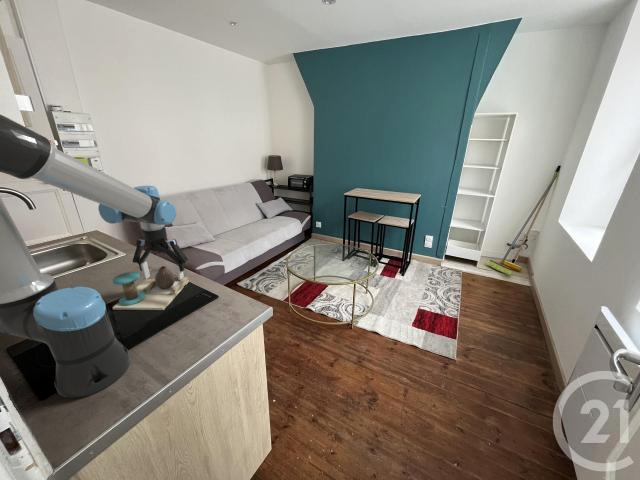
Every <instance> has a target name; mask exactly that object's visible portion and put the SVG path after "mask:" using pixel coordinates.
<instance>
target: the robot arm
mask: <svg viewBox="0 0 640 480" xmlns="http://www.w3.org/2000/svg"><path fill="white" fill-rule="evenodd" d="M0 173H2V174H4V175H5V174H6V175H9V176H12V177H15V178H18V179H19V180H30V179H35V180H37V181H39V182H43V183H44V184H47V185H50V186H53V187H55V188H57V189H61V190H63V191H66V192H69V193H70V194H74V195H75V196H78V197H82V198H84V199H87V200H89V201H92V202H94V203H97V204H98V208H97V209H98V213H99V215H100V217H101V219H103V221H105V222H106V223H108V224H113V225H114V224H117V223H118V224H120V223H122V222H135V223H139V224H140V228H141V229H142V236H143V238H140V239H138V240H136V247H135V248H136V249H135V251H134V254H133V257H132V263H134V264H135V263H137V264H138V266H139V270H140V271H141V272H142V276H143V279H144V280H146V279H148V278H149V277H151V275H150V274H151V273H150V270H149V266H148V262H147V261H146V260H147V258H148V257H149V256H150V254H151V253H153V252H154V253H155V252H159V253H162V252H163V254H166V255H167V256H168V257H169V258H170V259H172V260H173V262H175V263H176V265H175V269H176V272H177V276H178V278H179V280H181V279H182V278H183V277H184V276H185V275H184V271H185V264H186V263H187V262H188V261H189V259H188V257H187V256H186V254H185V253H184V252H183V250H182V249H181V247H180V246H179V245H178V242H177V240H176V238H174V239H171V240H168V234H167V230H166V227H165V226H169V225H171V224H172V223H173V222H175V220H176V216H177V208H176V206H175V204H173V203H172V202H171V201H167V200H164V199H163V200H162V199H161V196H160V193H159V191H158V187H156V186H154V185H137V186H135V187H134V186H130V185H129V184H126V183H124V182H122V181H121V180H119V179H116V178H115V177H113V176H111V175H109V174H107V173H105V172H103V171H101V170H98V169H97V168H95V167H93V166H90V165H89V164H87V163H85V162H83V161H82V160H79V159H77V158H76V157H73V156H71V155H69V154H68V153H65V152H63V151H61V150H59V149H58V148H56V147H54V146H53V143H52V142H51V141H50V139H49V138H47V137H46V136H43V135H41V134H39V133H38V132H35V131H34V130H32V129H30V128H28V127H26V126H24V125H22V124H20V123H19V122H17V121H15V120H13V119H11V118H9V117H8V116H5V115H3V114H0ZM144 245H145V246H146V248H145V250H144V252H143V249H144ZM142 253H143V254H142ZM149 279H150V278H149ZM0 332H1V333H4V334H6V335H9V336H10V335H11V336H13V337H15V336H16V337H20V338H23V339H28V340H32V341H37V342H40V343H44V344H46V345H47V346H48V348H49V350H50V353H51V355H52V356H53V359H54V361H55V377H54V383H53V384H54V387H55V389H56V392H57V393H58V395H59V396H61V397H62V396H63V398H66V399H78V398H79V399H80V398H83V397H87V396H91V395H93V394H96V393H98V392H100V391H102V390H104V389H107V387H109V386H111V385H113V384H114V383H115V382H116V381H118V380H119V379H120V378H121V377H122V376H123V375H124V374H125V373H126V372H127V370H128V368H129V367H130V365H131V361H132V360H131V356H130V351H129V349H128V348H127V347H126V346H124V345H123V343H121V342H120V341H119V340H118V339H117V338H116V336H115V335H116V334H115V333H114V329H113V326H112V323H111V320H110V317H109V315H108V311H107V306H106V303H105V301H104V299H103V298H102V296H101V293H99V292H98V291H97V290H95V289H93V288H91V287H87V286H74V287H73V288H72V287H66V288H59V286H58V284H57V282H56V280H55V279H54V277H53V276H52V275H50V274H46V273H42V272H41V270H40V268H39V266H38V265H37V262H36V260H35V258H34V257H33V256H32V253H31V252H30V250H29V247H28V246H27V244H26V242H25V240H24V239H23V237H22V235H21V233H20V231H19V229H18V227H17V225H16V223H15V221H14V220H13V218H12V216H11V215H10V212H9V210H8V208H7V207H6V204H5V203H4V201H3V199H2V197H1V196H0Z"/></svg>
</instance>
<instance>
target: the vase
mask: <svg viewBox="0 0 640 480" xmlns="http://www.w3.org/2000/svg"><path fill="white" fill-rule="evenodd" d="M175 276H176V275H175V274H174V272H173V271H172V270H170V268H168V267H167V266H165V265H164V266H163V265H162V266H159V268H158V271H156V274H155V277H154V279H155V282H156V284H157V286H158V287H159V288H162V289H168V288H170V287H172V286H173V284H174V282H175Z"/></svg>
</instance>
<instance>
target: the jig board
mask: <svg viewBox="0 0 640 480" xmlns="http://www.w3.org/2000/svg"><path fill="white" fill-rule="evenodd" d="M174 276H175V282H174V284H173V286H172V287H170V288H168V289H162V288H159V287H158V286H157V284H156V282H155V278H153V279H151V278H149V279H148V278H147V279H144V280H143V281H142V282H141V283H139V285H137V286H136V284H135V282H136V281H138V280H139V279H140V277H141V275H140V273H139V272H137V271H130V272H124V273H121V274H118V275H116V276H114V278H113V279H112V282H113V284H114V285H119V286H121V285H122V290H123V292H124V295H123V296H122V297H121V298H120V299H119V301H118V302H117V303H116V304H114V305H113V306H112V310H114V311H115V310H117V311H122V310H123V311H125V310H127V311H164V310H165V309H166V308H167V307H168V306H169V305H170V304H171V303H172V302H173V300H175V298H176V297H177V296H178V294H179V293H180V292H181V291H182V290H183V289H184V288H185V287H186V286H187V284H188V283H189V276H188V275H184V277H183V278H182V279H181V280H179V278H178V275H174ZM185 285H186V286H185ZM184 286H185V287H184Z"/></svg>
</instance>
